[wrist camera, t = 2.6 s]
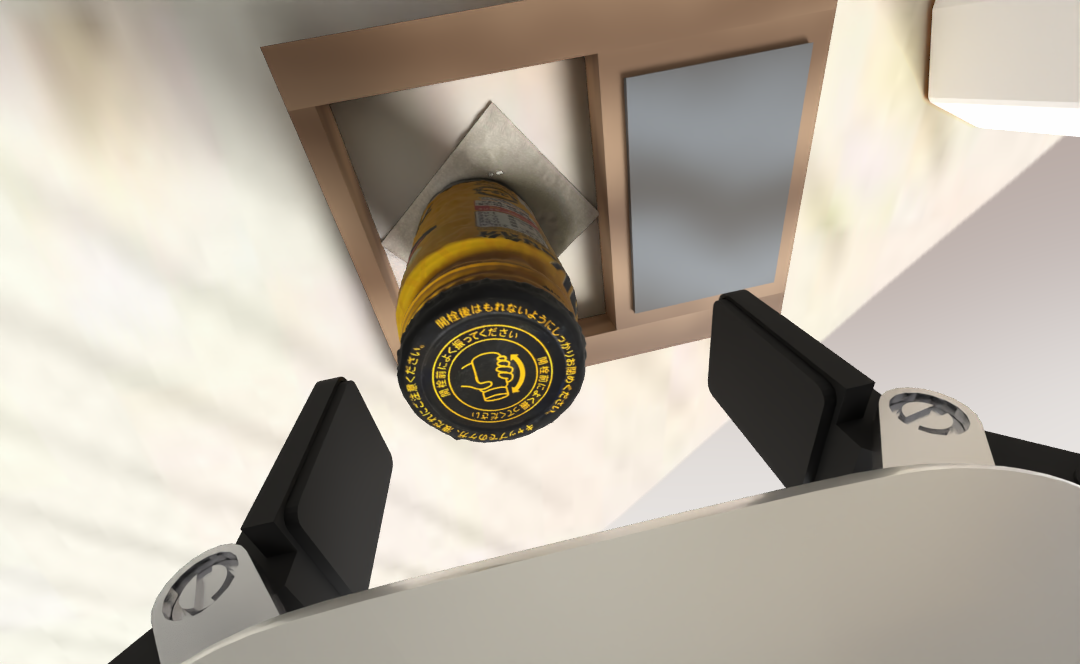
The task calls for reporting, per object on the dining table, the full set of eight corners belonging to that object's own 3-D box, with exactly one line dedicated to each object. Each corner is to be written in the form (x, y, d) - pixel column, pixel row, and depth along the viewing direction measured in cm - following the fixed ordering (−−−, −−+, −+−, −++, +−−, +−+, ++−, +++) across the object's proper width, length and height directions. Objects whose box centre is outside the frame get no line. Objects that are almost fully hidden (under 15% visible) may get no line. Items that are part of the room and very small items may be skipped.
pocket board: (280, 51, 16) (256, 46, 14) (810, -44, 17) (854, -60, 15) (418, 384, 25) (414, 410, 23) (758, 306, 26) (782, 323, 24)
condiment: (380, 243, 21) (305, 400, 10) (491, 101, 18) (533, 127, 8) (492, 322, 24) (518, 499, 14) (598, 211, 22) (722, 326, 11)
